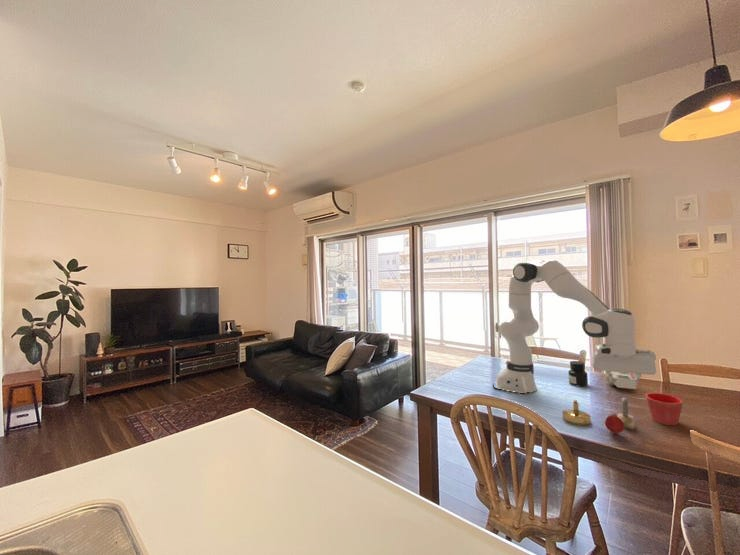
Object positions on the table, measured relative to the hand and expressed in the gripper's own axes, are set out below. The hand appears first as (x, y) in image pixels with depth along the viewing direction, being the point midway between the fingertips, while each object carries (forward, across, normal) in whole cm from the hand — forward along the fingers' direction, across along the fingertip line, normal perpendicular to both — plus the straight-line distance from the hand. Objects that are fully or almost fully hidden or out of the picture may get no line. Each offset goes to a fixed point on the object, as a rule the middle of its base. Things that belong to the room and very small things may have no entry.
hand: (623, 382), depth 125 cm
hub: (+18, +17, +1) cm, 24 cm away
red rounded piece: (+18, +5, +9) cm, 21 cm away
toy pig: (+18, -8, -50) cm, 54 cm away
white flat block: (+1, 0, 0) cm, 1 cm away
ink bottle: (+18, +10, -48) cm, 52 cm away
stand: (+18, 0, 0) cm, 18 cm away
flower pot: (+18, -15, -10) cm, 25 cm away
